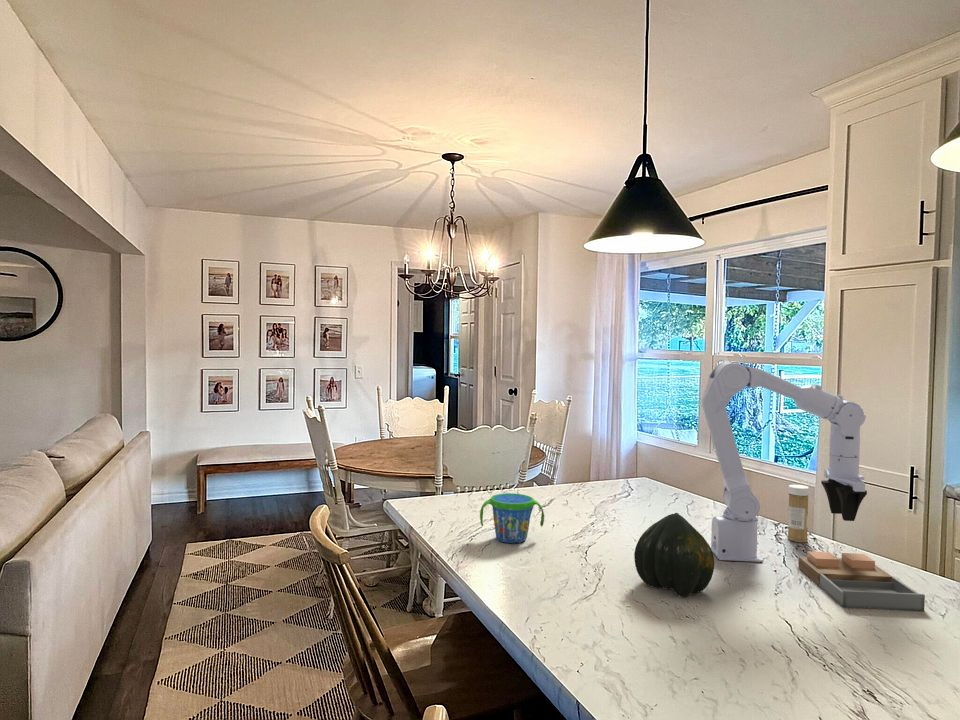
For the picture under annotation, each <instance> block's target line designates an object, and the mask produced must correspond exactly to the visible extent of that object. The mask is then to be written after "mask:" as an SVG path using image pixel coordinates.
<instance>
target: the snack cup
mask: <svg viewBox="0 0 960 720" xmlns="http://www.w3.org/2000/svg"><path fill="white" fill-rule="evenodd" d="M487 505H491V507H492V514H493V515H492V516H493V525H494V531H495V538H496V539H497V540H498V541H499V542H502V543H505V544H506V543H507V544H515V543H519V544H521V543H522V542H524V541H526V540H527V539H528V535H529V529H530V523H531V516H532V511H533V509H534V506H535V505H537V506H538V508H539V509H540V512H541V515H540V516H541V517H540V522H539V524H540V527H541V528H542V527H543V526H544V522H545V511H544V509H543V507H542V505H541V503H539V502H538V501H537V500H535V499H534V498H533V497H532V496H529V495H526V494H522V493H521V494H520V493H513V492H512V493H510V492H509V493H499V494H494V495H492V496H491V497H490V498H489V499H487V500H485V501H484V502H483V504H482V505H481V508H480V510H479V511H480V512H479V520H480V524H481V526H482V527H484V521H483V518H484V517H483V516H484V508H485V507H486V506H487Z"/></svg>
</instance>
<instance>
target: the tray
mask: <svg viewBox="0 0 960 720" xmlns="http://www.w3.org/2000/svg"><path fill="white" fill-rule="evenodd" d="M819 587H820V588H821V589H822V590H823V592H825V593H827V595H829V596H830V597H831V598H832V599H833V600H834V601H836V603H837V604H839V605H840V606H842V608H849V609H850V608H851V609H852V608H853V609H869V610H872V609H874V610H891V611H908V612H909V611H911V612H912V611H913V612H925V606H926V605H925V603H926V602H925V601H926V595H925V594H924V593H919V592H918V591H915V590H914V589H913V588H911V587H909V586H908V585H906V584H905V583H903V582H902V581H900V579H898V578H896V577H895V576H892V579H891V582H877V581H856V580H834V579H828V578H827V577H826V576H824V575H823V574H820V585H819Z"/></svg>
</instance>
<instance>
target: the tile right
mask: <svg viewBox="0 0 960 720" xmlns="http://www.w3.org/2000/svg"><path fill="white" fill-rule="evenodd" d="M841 558H842V561H843V562H845V563H846V564H847V565H849V566H850V567H851V568H867V569H875V565H876V560H874V559H873V558H871V557H870V556H868V555H867V554H865V553H853V552H852V553H851V552H841Z"/></svg>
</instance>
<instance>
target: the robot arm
mask: <svg viewBox="0 0 960 720" xmlns="http://www.w3.org/2000/svg"><path fill="white" fill-rule="evenodd" d="M759 387H761V388H763V389H765V390H768V391H771V392H772V393H773V392H774V393H776V394H779V395H782V396H784V397H786V398H788V399H791V400H793V401H794V404H795V405H796V408H797V409H799V410H802V411H804V412H806V413H809V414H811V415H814V416H816V417H818V418H820V419H823V420H826V421H829V422H830V433H829V453H828V454H829V455H828V456H829V458H828V459H829V461H828V463H829V464H828V468H824V470H823V471H824V472H823V475H824V478H827V480H821V481H820V483H821V485H822V487H823V489H824V491H825V494H826V496H827V501H828V505H829V510H830V513H831V514H836V515H837V514H839V515H841V517H842V520H843V521H847V522H854V521H856V518H857V514H858V511H859V508H860V506H861V503H862V502H863V500H864V499H865V497H867V494H868V491H867V490H866V482H864V480H865V476H864V475H861V474H860V452H861V451H860V450H861V448H860V446H861V444H860V443H861V427H862V425H863V424H864V423H865V422H866V418H867V416H866V414H865V412H864V410H863V408H862V407H861V405H859V404H858V403H855V402H853V401H849V400H846V399H844V396H843V395H840V394H836V395H835V394H833V393H831V392H828V391H826V390H824V389H822V388H823V386H821V385H819V384H814V385H811V384H806V385H804V386H798V385H796V384H794V383H792V382H790V381H787V380H786V379H785V380H784V379H783V378H780V377H778V376H776V375H774V374H771V373H770V372H767V371H765V370H763V369H760V368H756V367H752V366H748V365H743V364H741V363H738V362H732V361H723V362H721V363H719V364H718V365H716V366H715V367H714V369H713V370H712V371H711V372H710V374H709V375H708V380H707V384H706V386H705V389H704V393H703V396H702V399H701V406H702V410H703V412H704V416H705V420H706V424H707V426H708V431H709V435H710V437H711V441H712V444H713V448H714V451H715V454H716V455H715V456H716V459H717V462H718V465H719V469H720V472H721V476H722V485H723V492H722V493H723V494H722V500H723V503H724V504H725V506H726V508H725V510H724V511H723V515H719V516H717V515H715V516H713V517H712V520H711V533H710V534H711V535H710V536H711V541H710V543H711V545H710V547H711V549H712V552H713V555H715V557H716V558H717V559H718V560H720V561H733V562H735V561H736V562H756V563H757V562H758V563H762V562H764V559H763V558H762V557H761V556H760V555H759V554H758V519H759V516H758V514H759V512H760V509H761V504H760V501H759V499H758V497H756V495H755V494H754V493H753V491H752V489H751V485H750V483H749V481H748V479H747V476H746V474H745V470H744V467H743V463H742V460H741V455H740V453H739V450H738V449H739V448H738V446H737V443H736V440H735V439H736V438H735V436H734V431H733V429H732V424H731V422H730V418H729V415H728V411H727V406H728V404H729V403H730V401H731V400H732V399H733V398H734V396H735V395H737V394H738V393H740V392H741V391H742V390H743V389H744V388H759Z"/></svg>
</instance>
